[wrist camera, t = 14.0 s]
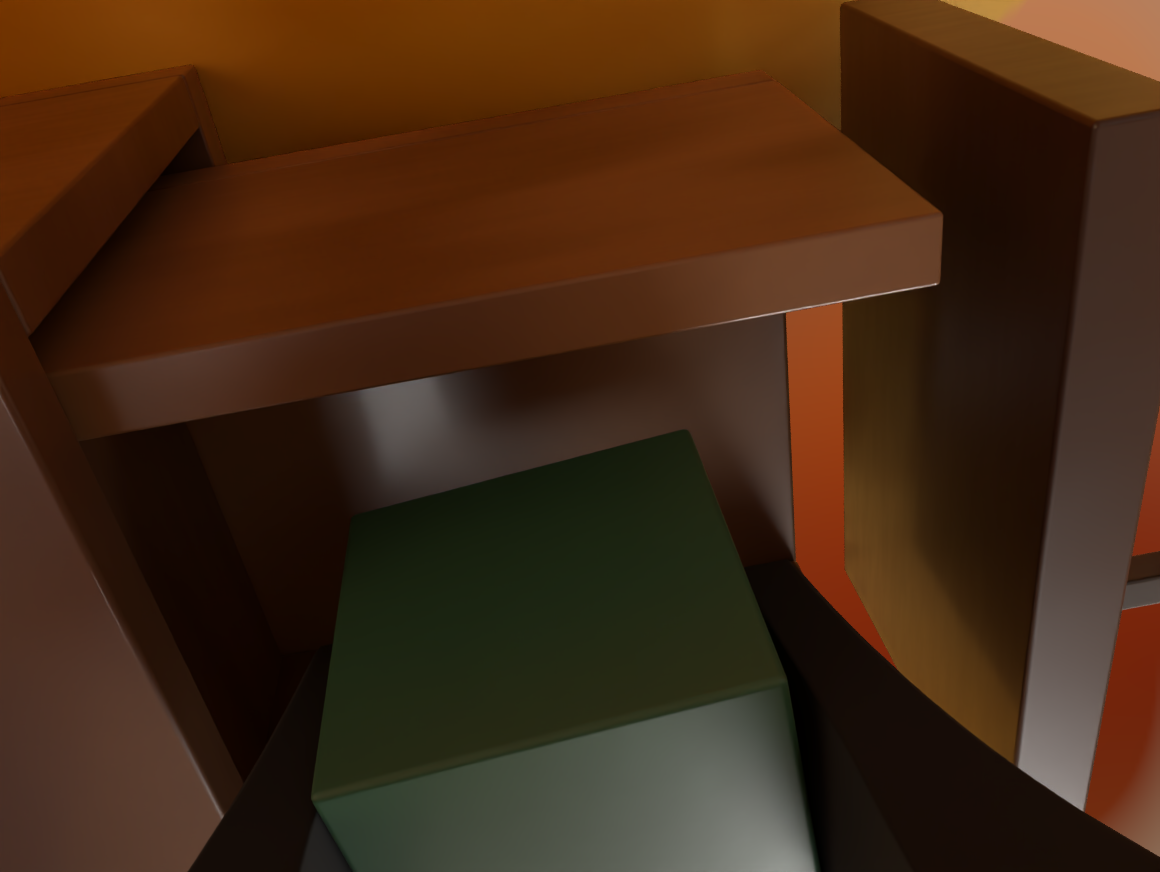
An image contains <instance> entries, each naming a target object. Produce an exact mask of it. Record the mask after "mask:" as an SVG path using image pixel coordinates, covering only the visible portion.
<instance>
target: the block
mask: <svg viewBox="0 0 1160 872" xmlns="http://www.w3.org/2000/svg"><path fill="white" fill-rule="evenodd" d="M311 800H312V802H313V804H314V806H315V808H316V810H317V811H318V813H319V815H320V816H321V818H322V820H323V822H324V823H325V825H326V827H327V828H328V830H329V832H330V833H331V835H332V837H333V839H334V840H335V842H336V844H337V845H338V847H339V849H340V851H341V852H342V854H343V856H344V857H345V859H346V861H347V863H348V864H349V866H350V868H351V869H352V871H353V872H821V866H820V861H819V855H818V849H817V844H816V838H815V833H814V827H813V821H812V816H811V810H810V804H809V799H808V793H807V787H806V782H805V776H804V770H803V765H802V759H801V753H800V748H799V742H798V737H797V731H796V725H795V720H794V714H793V708H792V703H791V697H790V691H789V686H788V680H787V677H786V674H785V672H784V669H783V667H782V664H781V661H780V659H779V656H778V654H777V651H776V649H775V646H774V644H773V641H772V639H771V636H770V633H769V631H768V628H767V626H766V623H765V621H764V618H763V616H762V613H761V610H760V608H759V605H758V603H757V600H756V598H755V595H754V593H753V590H752V588H751V585H750V582H749V580H748V577H747V575H746V572H745V570H744V567H743V565H742V562H741V560H740V557H739V554H738V552H737V549H736V547H735V544H734V542H733V539H732V537H731V534H730V532H729V529H728V526H727V524H726V521H725V519H724V516H723V514H722V511H721V509H720V506H719V504H718V501H717V498H716V496H715V493H714V491H713V488H712V486H711V483H710V481H709V478H708V476H707V473H706V470H705V468H704V465H703V463H702V460H701V458H700V455H699V453H698V450H697V448H696V445H695V442H694V440H693V437H692V435H691V433H690V432H689V431H688V430H687V429H682V430H678V431H674V432H670V433H666V434H663V435H659V436H655V437H651V438H647V439H643V440H640V441H636V442H632V443H628V444H624V445H620V446H616V447H613V448H609V449H605V450H601V451H597V452H593V453H590V454H586V455H582V456H578V457H574V458H570V459H567V460H563V461H559V462H555V463H551V464H547V465H544V466H540V467H536V468H532V469H528V470H524V471H520V472H517V473H513V474H509V475H505V476H501V477H497V478H494V479H490V480H486V481H482V482H478V483H474V484H471V485H467V486H463V487H459V488H455V489H451V490H448V491H444V492H440V493H436V494H432V495H428V496H424V497H421V498H417V499H413V500H409V501H405V502H401V503H398V504H394V505H390V506H386V507H382V508H378V509H375V510H371V511H367V512H363V513H359V514H356V515H354V516H352V518H351V521H350V528H349V535H348V542H347V549H346V556H345V563H344V570H343V577H342V584H341V591H340V597H339V604H338V611H337V618H336V625H335V632H334V639H333V646H332V653H331V660H330V667H329V674H328V681H327V688H326V695H325V702H324V708H323V715H322V722H321V729H320V736H319V743H318V750H317V757H316V764H315V771H314V778H313V785H312V792H311Z"/></svg>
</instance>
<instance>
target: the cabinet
mask: <svg viewBox="0 0 1160 872" xmlns="http://www.w3.org/2000/svg"><path fill="white" fill-rule="evenodd" d="M226 164H227V161H226V158H225V155H224V152H223V150H222V147H221V144H220V141H219V138H218V135H217V132H216V129H215V126H214V123H213V120H212V117H211V114H210V111H209V108H208V105H207V102H206V99H205V96H204V93H203V90H202V87H201V84H200V81H199V78H198V75H197V72H196V69H195V67H194V65H185V66H180V67H174V68H168V69H163V70H157V71H151V72H145V73H140V74H134V75H128V76H123V77H117V78H111V79H106V80H100V81H94V82H88V83H83V84H77V85H71V86H66V87H60V88H54V89H49V90H43V91H37V92H31V93H26V94H20V95H14V96H9V97H3V98H0V872H188V870H189V869H190V867H191V866H192V864H193V863H194V861H195V860H196V858H197V857H198V855H199V854H200V852H201V851H202V849H203V848H204V846H205V844H206V843H207V841H208V840H209V838H210V837H211V835H212V834H213V832H214V831H215V829H216V827H217V826H218V824H219V823H220V821H221V820H222V818H223V817H224V815H225V814H226V812H227V810H228V809H229V807H230V806H231V804H232V803H233V801H234V799H235V798H236V796H237V794H238V793H239V791H240V789H241V788H242V786H243V784H244V782H243V780H242V778H241V776H240V774H239V772H238V770H237V768H236V766H235V764H234V761H233V759H232V757H231V755H230V753H229V751H228V749H227V747H226V745H225V743H224V741H223V739H222V737H221V735H220V733H219V731H218V728H217V726H216V724H215V722H214V720H213V718H212V716H211V714H210V712H209V710H208V708H207V706H206V704H205V702H204V700H203V698H202V695H201V693H200V691H199V689H198V687H197V685H196V683H195V681H194V679H193V677H192V675H191V673H190V671H189V669H188V667H187V665H186V662H185V660H184V658H183V656H182V654H181V652H180V650H179V648H178V646H177V644H176V642H175V640H174V638H173V636H172V634H171V632H170V629H169V627H168V625H167V623H166V621H165V619H164V617H163V615H162V613H161V611H160V609H159V607H158V605H157V603H156V601H155V599H154V596H153V594H152V592H151V590H150V588H149V586H148V584H147V582H146V580H145V578H144V576H143V574H142V572H141V570H140V568H139V566H138V563H137V561H136V559H135V557H134V555H133V553H132V551H131V549H130V547H129V545H128V543H127V541H126V539H125V537H124V535H123V533H122V530H121V528H120V526H119V524H118V522H117V520H116V518H115V516H114V514H113V512H112V510H111V508H110V506H109V504H108V502H107V500H106V497H105V495H104V493H103V491H102V489H101V487H100V485H99V483H98V481H97V479H96V477H95V475H94V473H93V471H92V469H91V467H90V464H89V462H88V460H87V458H86V456H85V454H84V452H83V450H82V448H81V446H80V444H79V442H78V440H77V438H76V436H75V434H74V431H73V429H72V427H71V425H70V423H69V421H68V419H67V417H66V415H65V413H64V411H63V409H62V407H61V405H60V403H59V401H58V398H57V396H56V394H55V392H54V390H53V388H52V386H51V384H50V382H49V380H48V378H47V376H46V374H45V372H44V370H43V368H42V365H41V363H40V361H39V359H38V357H37V355H36V353H35V351H34V349H33V347H32V345H31V343H30V341H29V339H28V336H30V335H31V334H32V333H33V332H34V331H35V330H36V329H37V327H38V326H39V325H40V324H41V322H42V321H43V320H44V319H45V317H46V316H47V315H48V314H49V312H50V311H51V310H52V309H53V308H54V306H55V305H56V304H57V303H58V301H59V300H60V299H61V298H62V296H63V295H64V294H65V293H66V291H67V290H68V289H69V288H70V286H71V285H72V284H73V283H74V282H75V280H76V279H77V278H78V277H79V275H80V274H81V273H82V272H83V270H84V269H85V268H86V267H87V265H88V264H89V263H90V262H91V261H92V259H93V258H94V257H95V256H96V254H97V253H98V252H99V251H100V249H101V248H102V247H103V246H104V244H105V243H106V242H107V241H108V239H109V238H110V237H111V236H112V235H113V233H114V232H115V231H116V230H117V228H118V227H119V226H120V225H121V223H122V222H123V221H124V220H125V218H126V217H127V216H128V215H129V214H130V212H131V211H132V210H133V209H134V207H135V206H136V205H137V204H138V202H139V201H140V200H141V199H142V197H143V196H144V195H145V194H146V192H147V191H148V190H149V189H150V188H151V186H152V185H153V184H154V183H155V181H156V180H157V179H158V178H159V176H164V175H170V174H175V173H181V172H187V171H192V170H198V169H204V168H209V167H215V166H220V165H226Z"/></svg>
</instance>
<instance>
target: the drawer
mask: <svg viewBox="0 0 1160 872" xmlns="http://www.w3.org/2000/svg"><path fill="white" fill-rule="evenodd" d="M840 57H841V131H840V130H838V129H837V128H836V127H834V126H833V125H832V124H831V123H829V122H828V121H827V120H826V119H824V118H823V117H822V116H821V115H819V114H818V113H817V112H816V111H814V110H813V109H812V108H811V107H809V106H808V105H807V104H806V103H804V102H803V101H802V100H800V99H799V98H798V97H797V96H795V95H794V94H793V93H792V92H790V91H789V90H788V89H787V88H785V87H784V86H783V85H782V84H780V83H779V82H778V81H775V80H774V79H773V78H772V77H770V76H769V75H768V74H767V73H765V72H764V71H762V70H756V71H750V72H745V73H739V74H733V75H728V76H722V77H716V78H711V79H705V80H700V81H694V82H688V83H683V84H677V85H671V86H666V87H660V88H654V89H649V90H643V91H638V92H632V93H626V94H621V95H615V96H609V97H604V98H598V99H592V100H587V101H581V102H576V103H570V104H564V105H559V106H553V107H547V108H542V109H536V110H530V111H525V112H519V113H514V114H508V115H502V116H497V117H491V118H485V119H480V120H474V121H468V122H463V123H457V124H452V125H446V126H440V127H435V128H429V129H423V130H418V131H412V132H406V133H401V134H395V135H390V136H384V137H378V138H373V139H367V140H361V141H356V142H350V143H344V144H339V145H333V146H328V147H322V148H316V149H311V150H305V151H299V152H294V153H288V154H282V155H277V156H271V157H266V158H260V159H254V160H249V161H243V162H237V163H232V164H226V165H220V166H215V167H209V168H204V169H198V170H192V171H187V172H181V173H175V174H170V175H164V176H159V178H158V179H157V180H156V181H155V183H154V184H153V185H152V186H151V188H150V189H149V190H148V191H147V192H146V194H145V195H144V196H143V197H142V199H141V200H140V201H139V202H138V204H137V205H136V206H135V207H134V209H133V210H132V211H131V212H130V214H129V215H128V216H127V217H126V218H125V220H124V221H123V222H122V223H121V225H120V226H119V227H118V228H117V230H116V231H115V232H114V233H113V235H112V236H111V237H110V238H109V239H108V241H107V242H106V243H105V244H104V246H103V247H102V248H101V249H100V251H99V252H98V253H97V254H96V256H95V257H94V258H93V259H92V261H91V262H90V263H89V264H88V265H87V267H86V268H85V269H84V270H83V272H82V273H81V274H80V275H79V277H78V278H77V279H76V280H75V282H74V283H73V284H72V285H71V286H70V288H69V289H68V290H67V291H66V293H65V294H64V295H63V296H62V298H61V299H60V300H59V301H58V303H57V304H56V305H55V306H54V308H53V309H52V310H51V311H50V312H49V314H48V315H47V316H46V317H45V319H44V320H43V321H42V322H41V324H40V325H39V326H38V327H37V329H36V330H35V331H34V332H33V333H32V334H31V335H30V336H28V339H29V341H30V343H31V345H32V347H33V349H34V351H35V353H36V355H37V357H38V359H39V361H40V363H41V365H42V368H43V370H44V372H45V374H46V376H47V378H48V380H49V382H50V384H51V386H52V388H53V390H54V392H55V394H56V396H57V398H58V401H59V403H60V405H61V407H62V409H63V411H64V413H65V415H66V417H67V419H68V421H69V423H70V425H71V427H72V429H73V431H74V434H75V436H76V438H77V440H78V442H79V444H80V446H81V448H82V450H83V452H84V454H85V456H86V458H87V460H88V462H89V464H90V467H91V469H92V471H93V473H94V475H95V477H96V479H97V481H98V483H99V485H100V487H101V489H102V491H103V493H104V495H105V497H106V500H107V502H108V504H109V506H110V508H111V510H112V512H113V514H114V516H115V518H116V520H117V522H118V524H119V526H120V528H121V530H122V533H123V535H124V537H125V539H126V541H127V543H128V545H129V547H130V549H131V551H132V553H133V555H134V557H135V559H136V561H137V563H138V566H139V568H140V570H141V572H142V574H143V576H144V578H145V580H146V582H147V584H148V586H149V588H150V590H151V592H152V594H153V596H154V599H155V601H156V603H157V605H158V607H159V609H160V611H161V613H162V615H163V617H164V619H165V621H166V623H167V625H168V627H169V629H170V632H171V634H172V636H173V638H174V640H175V642H176V644H177V646H178V648H179V650H180V652H181V654H182V656H183V658H184V660H185V662H186V665H187V667H188V669H189V671H190V673H191V675H192V677H193V679H194V681H195V683H196V685H197V687H198V689H199V691H200V693H201V695H202V698H203V700H204V702H205V704H206V706H207V708H208V710H209V712H210V714H211V716H212V718H213V720H214V722H215V724H216V726H217V728H218V731H219V733H220V735H221V737H222V739H223V741H224V743H225V745H226V747H227V749H228V751H229V753H230V755H231V757H232V759H233V761H234V764H235V766H236V768H237V770H238V772H239V774H240V776H241V778H242V780H243V782H245V781H246V779H247V777H248V776H249V774H250V772H251V770H252V769H253V767H254V765H255V763H256V762H257V760H258V758H259V757H260V755H261V753H262V751H263V750H264V748H265V746H266V744H267V743H268V741H269V739H270V737H271V736H272V734H273V732H274V730H275V728H276V726H277V725H278V723H279V721H280V719H281V717H282V715H283V713H284V712H285V710H286V708H287V706H288V704H289V702H290V700H291V698H292V697H293V695H294V693H295V691H296V689H297V687H298V685H299V683H300V681H301V679H302V677H303V675H304V673H305V671H306V669H307V667H308V665H309V664H310V662H311V660H312V658H313V656H314V654H315V653H316V651H317V650H318V649H319V648H320V646H323V645H328V644H333V639H334V632H335V625H336V618H337V611H338V604H339V597H340V591H341V584H342V577H343V570H344V563H345V556H346V549H347V542H348V535H349V528H350V521H351V518H352V516H354V515H356V514H359V513H363V512H367V511H371V510H375V509H378V508H382V507H386V506H390V505H394V504H398V503H401V502H405V501H409V500H413V499H417V498H421V497H424V496H428V495H432V494H436V493H440V492H444V491H448V490H451V489H455V488H459V487H463V486H467V485H471V484H474V483H478V482H482V481H486V480H490V479H494V478H497V477H501V476H505V475H509V474H513V473H517V472H520V471H524V470H528V469H532V468H536V467H540V466H544V465H547V464H551V463H555V462H559V461H563V460H567V459H570V458H574V457H578V456H582V455H586V454H590V453H593V452H597V451H601V450H605V449H609V448H613V447H616V446H620V445H624V444H628V443H632V442H636V441H640V440H643V439H647V438H651V437H655V436H659V435H663V434H666V433H670V432H674V431H678V430H682V429H687V430H688V431H689V432H690V433H691V435H692V437H693V440H694V442H695V445H696V448H697V450H698V453H699V455H700V458H701V460H702V463H703V465H704V468H705V470H706V473H707V476H708V478H709V481H710V483H711V486H712V488H713V491H714V493H715V496H716V498H717V501H718V504H719V506H720V509H721V511H722V514H723V516H724V519H725V521H726V524H727V526H728V529H729V532H730V534H731V537H732V539H733V542H734V544H735V547H736V549H737V552H738V554H739V557H740V560H741V562H742V565H743V567H747V566H753V565H758V564H764V563H769V562H774V561H780V560H785V559H787V560H788V561H790V562H791V563H793V564H794V565H796V567H797V568H798V569H799V570H800V567H799V565H798V563H797V562H796V554H795V529H794V505H793V481H792V456H791V432H790V407H789V383H788V360H787V359H788V358H787V335H786V313H787V312H792V311H797V310H802V309H808V308H814V307H820V306H825V305H831V304H836V303H841V302H843V413H844V414H843V421H844V531H845V532H844V539H845V540H844V541H845V571H846V573H847V574H848V577H849V578H850V580H851V582H852V584H853V586H854V588H855V590H856V591H857V594H858V595H859V597H860V599H861V601H862V603H863V605H864V607H865V609H866V611H867V612H868V614H869V616H870V618H871V620H872V622H873V624H874V626H875V628H876V629H877V631H878V633H879V635H880V637H881V639H882V641H883V643H884V645H885V647H886V648H887V650H888V652H889V654H890V656H891V658H892V660H893V662H894V664H895V665H896V667H897V669H898V671H899V672H900V673H901V674H902V675H904V676H905V677H906V678H907V679H908V680H909V681H910V682H911V683H912V684H914V685H915V686H916V687H917V688H918V689H919V690H920V691H922V692H923V693H924V694H925V695H926V696H927V697H928V698H930V699H931V700H932V701H933V702H934V703H936V704H937V705H938V706H939V707H940V708H942V709H943V710H944V711H945V712H947V713H948V714H949V715H950V716H951V717H953V718H954V719H955V720H956V721H957V722H959V723H960V724H961V725H962V726H964V727H965V728H966V729H967V730H969V731H970V732H971V733H972V734H974V735H975V736H976V737H978V738H979V739H980V740H981V741H983V742H984V743H985V744H987V745H988V746H989V747H991V748H992V749H993V750H995V751H996V752H997V753H999V754H1000V755H1001V756H1003V757H1004V758H1006V759H1007V760H1008V761H1010V762H1011V763H1013V764H1014V765H1015V766H1017V767H1018V768H1020V769H1021V770H1022V771H1024V772H1025V773H1027V774H1028V775H1029V776H1031V777H1032V778H1033V779H1035V780H1036V781H1038V782H1039V783H1041V784H1042V785H1044V786H1045V787H1047V788H1048V789H1050V790H1051V791H1053V792H1054V793H1056V794H1057V795H1059V796H1060V797H1062V798H1063V799H1065V800H1066V801H1068V802H1069V803H1071V804H1072V805H1074V806H1075V807H1077V808H1078V809H1080V810H1082V811H1083V812H1085V807H1086V802H1087V797H1088V791H1089V786H1090V780H1091V775H1092V769H1093V764H1094V759H1095V753H1096V748H1097V743H1098V737H1099V731H1100V726H1101V721H1102V715H1103V710H1104V704H1105V699H1106V694H1107V688H1108V683H1109V678H1110V672H1111V667H1112V661H1113V655H1114V650H1115V645H1116V640H1117V634H1118V629H1119V622H1120V618H1121V612H1122V610H1124V609H1130V608H1135V607H1141V606H1146V605H1151V604H1157V603H1160V551H1158V552H1152V553H1147V554H1142V555H1136V556H1132V553H1133V547H1134V542H1135V537H1136V531H1137V526H1138V520H1139V515H1140V509H1141V504H1142V499H1143V493H1144V487H1145V482H1146V476H1147V471H1148V466H1149V461H1150V455H1151V449H1152V444H1153V439H1154V434H1155V428H1156V422H1157V417H1158V412H1159V406H1160V82H1159V81H1156V80H1154V79H1151V78H1148V77H1146V76H1143V75H1140V74H1137V73H1135V72H1132V71H1129V70H1127V69H1124V68H1121V67H1118V66H1116V65H1113V64H1110V63H1107V62H1105V61H1102V60H1099V59H1097V58H1094V57H1091V56H1088V55H1085V54H1083V53H1080V52H1078V51H1075V50H1072V49H1069V48H1067V47H1064V46H1061V45H1059V44H1056V43H1053V42H1051V41H1048V40H1045V39H1042V38H1040V37H1037V36H1034V35H1031V34H1029V33H1026V32H1023V31H1021V30H1018V29H1015V28H1012V27H1010V26H1007V25H1004V24H1002V23H999V22H996V21H994V20H991V19H988V18H985V17H983V16H980V15H977V14H975V13H972V12H969V11H966V10H964V9H961V8H958V7H956V6H953V5H950V4H947V3H945V2H942V1H939V0H856V1H850V2H845V3H843V4H841V7H840ZM800 571H801V570H800Z"/></svg>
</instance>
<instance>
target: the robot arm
mask: <svg viewBox="0 0 1160 872" xmlns="http://www.w3.org/2000/svg"><path fill="white" fill-rule="evenodd" d="M744 570H745V572H746V575H747V577H748V580H749V582H750V585H751V588H752V590H753V593H754V595H755V598H756V600H757V603H758V605H759V608H760V610H761V613H762V616H763V618H764V621H765V623H766V626H767V628H768V631H769V633H770V636H771V639H772V641H773V644H774V646H775V649H776V651H777V654H778V656H779V659H780V661H781V664H782V667H783V669H784V672H785V674H786V677H787V680H788V686H789V691H790V697H791V703H792V708H793V714H794V720H795V725H796V731H797V737H798V742H799V748H800V753H801V759H802V765H803V770H804V776H805V782H806V787H807V793H808V799H809V804H810V810H811V816H812V821H813V827H814V833H815V838H816V844H817V849H818V855H819V861H820V866H821V872H1160V857H1159V856H1157V855H1155V854H1154V853H1152V852H1150V851H1149V850H1147V849H1145V848H1144V847H1142V846H1140V845H1138V844H1137V843H1135V842H1133V841H1132V840H1130V839H1128V838H1127V837H1125V836H1123V835H1122V834H1120V833H1118V832H1117V831H1115V830H1113V829H1112V828H1110V827H1108V826H1106V825H1105V824H1103V823H1101V822H1100V821H1098V820H1096V819H1095V818H1093V817H1091V816H1089V815H1088V814H1086V813H1085V812H1083V811H1082V810H1080V809H1078V808H1077V807H1075V806H1074V805H1072V804H1071V803H1069V802H1068V801H1066V800H1065V799H1063V798H1062V797H1060V796H1059V795H1057V794H1056V793H1054V792H1053V791H1051V790H1050V789H1048V788H1047V787H1045V786H1044V785H1042V784H1041V783H1039V782H1038V781H1036V780H1035V779H1033V778H1032V777H1031V776H1029V775H1028V774H1027V773H1025V772H1024V771H1022V770H1021V769H1020V768H1018V767H1017V766H1015V765H1014V764H1013V763H1011V762H1010V761H1008V760H1007V759H1006V758H1004V757H1003V756H1001V755H1000V754H999V753H997V752H996V751H995V750H993V749H992V748H991V747H989V746H988V745H987V744H985V743H984V742H983V741H981V740H980V739H979V738H978V737H976V736H975V735H974V734H972V733H971V732H970V731H969V730H967V729H966V728H965V727H964V726H962V725H961V724H960V723H959V722H957V721H956V720H955V719H954V718H953V717H951V716H950V715H949V714H948V713H947V712H945V711H944V710H943V709H942V708H940V707H939V706H938V705H937V704H936V703H934V702H933V701H932V700H931V699H930V698H928V697H927V696H926V695H925V694H924V693H923V692H922V691H920V690H919V689H918V688H917V687H916V686H915V685H914V684H912V683H911V682H910V681H909V680H908V679H907V678H906V677H905V676H904V675H902V674H901V673H900V672H899V671H898V670H897V669H896V668H895V667H894V666H893V665H892V664H890V662H888V661H887V660H886V659H885V658H884V657H883V656H882V655H881V654H880V653H879V652H878V651H877V650H875V649H874V648H873V647H872V646H871V645H870V644H869V643H868V642H867V641H866V640H865V639H864V638H863V637H862V636H861V635H860V634H859V633H858V632H857V631H856V630H855V629H854V628H853V627H852V626H851V625H850V624H849V623H848V622H847V621H846V620H845V619H844V618H843V617H842V616H841V615H840V614H839V613H838V612H837V611H836V610H835V609H834V608H833V607H832V605H831V604H830V603H829V602H828V601H827V600H826V599H825V598H824V597H823V596H822V595H821V594H820V593H819V592H818V590H817V589H816V588H815V587H814V586H813V585H812V584H811V583H810V582H809V581H808V579H807V578H806V577H805V576H804V575H803V574H802V572H801V571H800V570H799V569H798V568H797V567H796V565H794V564H793V563H791V562H790V561H788V560H787V559H785V560H780V561H774V562H769V563H764V564H758V565H753V566H747V567H744ZM332 646H333V644H328V645H323V646H320V648H319V649H318V650H317V651H316V653H315V654H314V656H313V658H312V660H311V662H310V664H309V665H308V667H307V669H306V671H305V673H304V675H303V677H302V679H301V681H300V683H299V685H298V687H297V689H296V691H295V693H294V695H293V697H292V698H291V700H290V702H289V704H288V706H287V708H286V710H285V712H284V713H283V715H282V717H281V719H280V721H279V723H278V725H277V726H276V728H275V730H274V732H273V734H272V736H271V737H270V739H269V741H268V743H267V744H266V746H265V748H264V750H263V751H262V753H261V755H260V757H259V758H258V760H257V762H256V763H255V765H254V767H253V769H252V770H251V772H250V774H249V776H248V777H247V779H246V781H245V782H244V784H243V786H242V788H241V789H240V791H239V793H238V794H237V796H236V798H235V799H234V801H233V803H232V804H231V806H230V807H229V809H228V810H227V812H226V814H225V815H224V817H223V818H222V820H221V821H220V823H219V824H218V826H217V827H216V829H215V831H214V832H213V834H212V835H211V837H210V838H209V840H208V841H207V843H206V844H205V846H204V848H203V849H202V851H201V852H200V854H199V855H198V857H197V858H196V860H195V861H194V863H193V864H192V866H191V867H190V869H189V870H188V872H353V871H352V869H351V868H350V866H349V864H348V863H347V861H346V859H345V857H344V856H343V854H342V852H341V851H340V849H339V847H338V845H337V844H336V842H335V840H334V839H333V837H332V835H331V833H330V832H329V830H328V828H327V827H326V825H325V823H324V822H323V820H322V818H321V816H320V815H319V813H318V811H317V810H316V808H315V806H314V804H313V802H312V800H311V792H312V785H313V778H314V771H315V764H316V757H317V750H318V743H319V736H320V729H321V722H322V715H323V708H324V702H325V695H326V688H327V681H328V674H329V667H330V660H331V653H332Z"/></svg>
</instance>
